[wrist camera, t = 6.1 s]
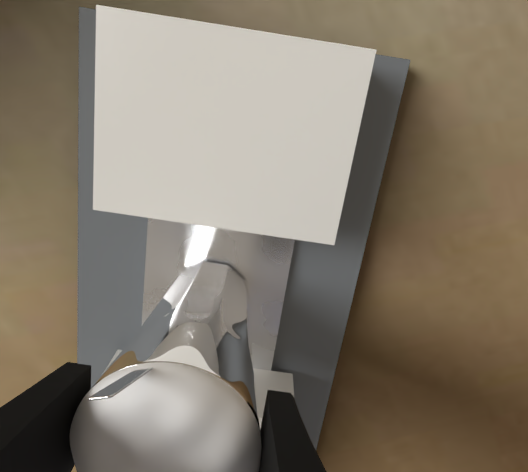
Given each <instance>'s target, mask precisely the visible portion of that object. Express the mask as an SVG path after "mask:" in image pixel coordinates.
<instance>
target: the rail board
mask: <svg viewBox="0 0 528 472" xmlns="http://www.w3.org/2000/svg"><path fill="white" fill-rule="evenodd" d="M95 45H96V9H90V8H84V7H79V114H78V350H77V364H85V365H91V388H92V387H93V386H94V384H95V383H96V382H97V381H98V379H99V378H100V377H101V376H102V374H103V373H104V371H105V369H106V368H107V366H108V365H109V363H110V361H111V360H112V358H113V356H114V355H115V353H116V352H117V350H118V349H119V350H123V349H124V347H125V346H126V345H127V344H128V343H129V341H130V340H131V339H132V338H133V336H134V335H135V334H136V333H137V331H138V330H139V329H140V327H141V326H142V310H143V294H144V277H145V261H146V244H147V228H148V218H146V217H139V216H132V215H126V214H119V213H112V212H105V211H98V210H93V170H94V108H95ZM409 64H410V60H408V59H402V58H396V57H389V56H383V55H377V54H375V59H374V64H373V68H372V73H371V78H370V82H369V87H368V91H367V96H366V101H365V105H364V110H363V115H362V119H361V124H360V129H359V133H358V138H357V142H356V147H355V152H354V156H353V161H352V166H351V170H350V175H349V180H348V184H347V189H346V193H345V198H344V203H343V207H342V212H341V217H340V221H339V226H338V230H337V235H336V240H335V244H334V245H329V244H322V243H315V242H308V241H302V240H295V242H294V247H293V253H292V258H291V264H290V269H289V275H288V280H287V286H286V291H285V297H284V302H283V308H282V313H281V319H280V324H279V329H278V335H277V340H276V346H275V351H274V357H273V362H272V368H271V371H277V372H284V373H291V374H293V386H294V399H295V402H296V405H297V408H298V410H299V413H300V416H301V418H302V421H303V423H304V425H305V428H306V430H307V432H308V435H309V437H310V439H311V441H312V444H313V446H314V448H315V450H316V448H317V444H318V440H319V436H320V432H321V428H322V424H323V419H324V415H325V411H326V407H327V403H328V399H329V395H330V391H331V386H332V382H333V378H334V374H335V370H336V366H337V362H338V357H339V353H340V349H341V345H342V341H343V337H344V333H345V328H346V324H347V320H348V316H349V312H350V308H351V304H352V299H353V295H354V291H355V287H356V283H357V279H358V275H359V271H360V266H361V262H362V258H363V254H364V250H365V246H366V242H367V237H368V233H369V229H370V225H371V221H372V217H373V213H374V208H375V204H376V200H377V196H378V192H379V188H380V184H381V179H382V175H383V171H384V167H385V163H386V159H387V155H388V150H389V146H390V142H391V138H392V134H393V130H394V126H395V122H396V117H397V113H398V109H399V105H400V101H401V97H402V93H403V88H404V84H405V80H406V76H407V72H408V68H409Z"/></svg>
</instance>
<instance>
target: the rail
mask: <svg viewBox="0 0 528 472" xmlns="http://www.w3.org/2000/svg"><path fill="white" fill-rule="evenodd" d="M294 242H295V239H288V238H281V237H275V236H268V235H261V234H254V233H247V232H241V231H234V230H227V229H220V228H214V227H207V226H200V225H193V224H187V223H180V222H173V221H166V220H159V219H153V218H148V228H147V244H146V261H145V277H144V294H143V310H142V325H143V323H144V322H145V321H146V319H147V318H148V317H149V315H150V314H151V313H152V311H153V310H154V309H155V307H156V306H157V304H158V303H159V302H160V300H161V299H162V298H163V296H164V295H165V294H166V292H167V291H168V290H169V288H170V287H171V285H172V284H173V283H174V281H175V280H176V279H177V277H178V276H179V275H180V273H181V272H182V271H184V270H186V269H188V268H190V267H192V266H195V265H197V264H199V263H201V262H203V261H206V262H212V263H218V264H224V265H229V266H230V267H231V268H232V269H233V270H234V271H235V272H236V273H237V274H238V275H239V276H240V277H241V278H243V279H244V280H245V281H246V285H247V292H248V297H249V303H250V318H251V338H252V358H253V368H255V369H263V370H270V371H271V368H272V362H273V357H274V351H275V346H276V340H277V335H278V329H279V324H280V319H281V313H282V308H283V302H284V297H285V291H286V286H287V280H288V275H289V269H290V264H291V258H292V253H293V247H294Z"/></svg>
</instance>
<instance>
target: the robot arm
mask: <svg viewBox="0 0 528 472" xmlns="http://www.w3.org/2000/svg"><path fill="white" fill-rule="evenodd" d="M90 389H91V365H85V364H77V363H70V362H67V363H66V364H64V365H63V366H61V367H60V368H58V369H57V370H55V371H54V372H52V373H51V374H49V375H48V376H46V377H45V378H44V379H42V380H41V381H39V382H38V383H36V384H35V385H33V386H32V387H30V388H29V389H27V390H26V391H25V392H23V393H22V394H20V395H19V396H17V397H16V398H14V399H13V400H11V401H10V402H8V403H7V404H5V405H3V406H2V407H0V472H71V470H72V469H73V467H74V464H75V463H74V460H73V456H72V452H71V448H70V439H69V436H70V428H71V423H72V420H73V417H74V415H75V412H76V410H77V408H78V406H79V404H80V403H81V401H82V399H83V398H84V397H85V395H86V394H87V393H88V392H89V391H90ZM260 436H261V445H262V448H261V460H260V467H259V472H326V470H325V468H324V466H323V464H322V462H321V460H320V458H319V456H318V454H317V452H316V450H315V448H314V446H313V444H312V441H311V439H310V437H309V435H308V432H307V430H306V428H305V425H304V423H303V421H302V418H301V416H300V413H299V410H298V408H297V405H296V402H295V399H294V397H293V395H292V394H291V393H288V392H281V391H274V390H267V396H266V401H265V407H264V412H263V418H262V423H261V429H260Z"/></svg>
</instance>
